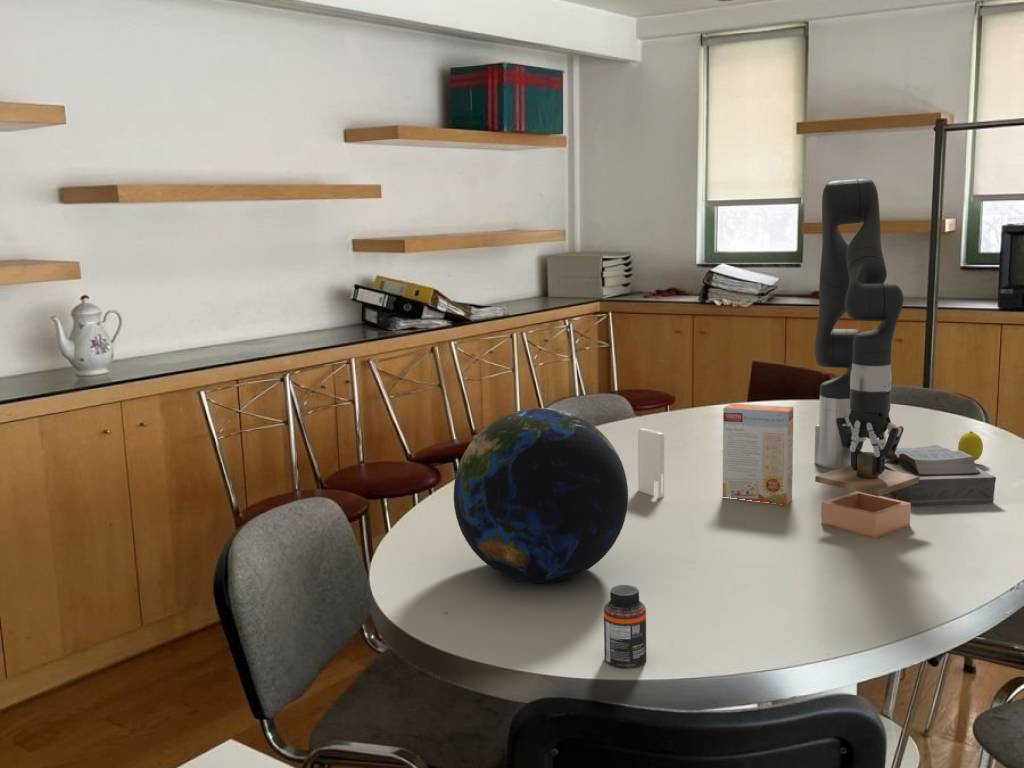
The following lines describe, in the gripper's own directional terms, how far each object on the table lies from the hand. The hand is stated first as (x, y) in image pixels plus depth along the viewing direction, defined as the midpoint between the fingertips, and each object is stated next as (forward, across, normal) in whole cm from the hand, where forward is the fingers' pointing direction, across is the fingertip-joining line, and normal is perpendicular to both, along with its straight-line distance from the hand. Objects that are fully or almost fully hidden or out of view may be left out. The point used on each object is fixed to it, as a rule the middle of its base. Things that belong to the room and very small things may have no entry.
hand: (867, 471), depth 206 cm
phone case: (+12, -43, -16) cm, 48 cm away
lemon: (+12, -12, +62) cm, 64 cm away
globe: (+11, -21, -66) cm, 70 cm away
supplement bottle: (+11, +14, -80) cm, 82 cm away
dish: (+11, 0, 0) cm, 11 cm away
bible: (+12, -6, +32) cm, 35 cm away
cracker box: (+12, -26, -1) cm, 28 cm away
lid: (+2, 0, 0) cm, 2 cm away
